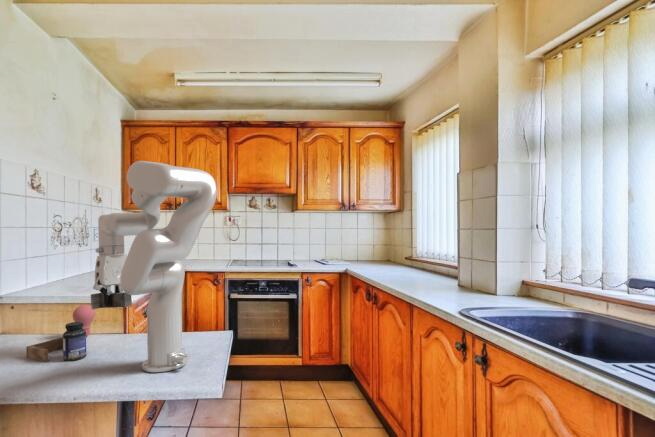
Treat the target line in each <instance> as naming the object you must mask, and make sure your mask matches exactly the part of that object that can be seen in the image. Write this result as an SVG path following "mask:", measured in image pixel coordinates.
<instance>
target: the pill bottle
mask: <svg viewBox="0 0 655 437" xmlns="http://www.w3.org/2000/svg"><path fill="white" fill-rule="evenodd" d="M64 326H65V327H64V328H65V329H66V331H65V332H63V334H62V337H63V348H62V350H63V351H62V352H63V360H64V361H65V362H73V361H79V360H82V359H84V358H86V356H87V336H86V331H85V330H84V329H82V327H83V322H75V321H72V322H68V323H66V324H65V325H64Z"/></svg>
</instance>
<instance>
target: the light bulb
mask: <svg viewBox="0 0 655 437" xmlns="http://www.w3.org/2000/svg"><path fill="white" fill-rule="evenodd" d="M95 316H96V309H92V307H91V305H89V304H82V305H79V306H77V307H76V308H75V309H74V310H73V312H72V318H73V322H83V327H82V329H84V330H85V331H86V337H87V336H90V334H91V329H90V328H92V327H91V324H92V322H93V321H94V319H95Z"/></svg>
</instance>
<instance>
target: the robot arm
mask: <svg viewBox="0 0 655 437" xmlns="http://www.w3.org/2000/svg"><path fill="white" fill-rule="evenodd" d="M126 183H127V185H128V187H129V188H131V189H132V190H133V191H132V192H131V201H132V203H133V205H134V206H135V207H137V209H139V210H141V211H142V212H113V213H110V214H102V215H100V216H99V217H98V220H97V222H98V223H97V224H98V248H95V253H96V254H98V255H97V256H96V260H95V265H94V267H95V268H94V284H93V287H92V289H93V290H96V291H99V293H102V294H103V295H104V304H105V306H106V307H112V295H110V294H111V291H112V286H113V287H114V288H113V289H114V293H122V292H125V293H127V294H129V295H131V296H140V295H147V294H151V293H152V294H151V296H150V298H149V300H148V301H147V302H148V303H147V306H146V330H147V332H146V334H147V336H146V337H147V338H146V340H147V344H146V345H147V359H146V360H144V361H143V362H142V364H141V369H142V370H143V371H145V372H147V373H162V372H163V373H164V372H170V371H173V370H177V369H180V368H183V367H184V366H185V365H187V364H188V362H189V360H190V359H191V354H186V352H185V350H186V349H185V348H184V347H183V318H182V317H183V316H182V315H183V314H182V313H183V312H182V310H183V309H182V306H183V304H182V302H183V301H182V300H183V298H182V297H183V287H184V284H185V283H184V282H185V276H186V274H185V271H186V270H185V266H184V264H183V262H181V261H182V260H185V259H186V258H188V256H189V255H190V253H191V252H192V250H193V248H194V245H195V242H196V240H197V239H198V237H199V234H200V232H201V230H202V227H203V225H204V223H205V221H206V220H207V218H208V217H209V215H210V213H211V211H212V209H213V208H214V206H215V203H216V200H217V194H218V193H217V189H218V188H217V183H216V180H215V179H214V177H213V176H212V175H211V174H210V173H209V172H207V171H205V170H202V169H198V168H194V167H193V168H192V167H186V166H184V167H183V166H175V165H171V164H167V163H163V162H154V161H147V160H138V161H135V162H133V163H132V164H131V165H130V166H129V168H128V170H127V173H126ZM167 198H178V199H186V200H185V201H183V203H182V204H180V205H179V206H178V207H177V208H176V209H175V210H174V212H173V213H172V215H171V218H170V219H169V220H170V221H169V222H168V224H167V226H166V227H164V228H163V227H162V228H155V227H156V226H157V225H158V224H159V223H160V218H161V213H162V212H161V205H162V204H163V202H164V201H165V200H166V199H167ZM128 236H129V237H130V236H135V237H134V239H133V241H132V243H131V245H130V248H129V251H128V254H126V253H125V237H128Z"/></svg>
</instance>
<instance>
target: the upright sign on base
mask: <svg viewBox="0 0 655 437" xmlns="http://www.w3.org/2000/svg"><path fill="white" fill-rule="evenodd" d="M110 295H112V307H106V306H105V304H104V295H103V294H102V293H101V292H98V293H90V306H91V307H92V309H94V310H97V309H109V308H127V307H131V306H133V302H132V301H133V300H132V295H129V294H127V293H125V292H124V291H123V292H122V293H115V292H113V291H112V290H111V294H110Z"/></svg>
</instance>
